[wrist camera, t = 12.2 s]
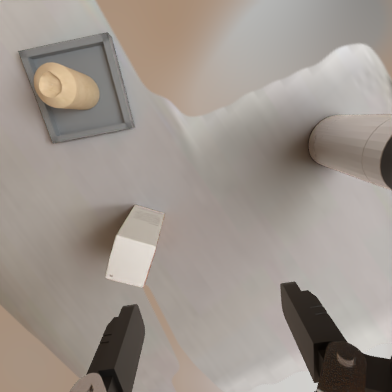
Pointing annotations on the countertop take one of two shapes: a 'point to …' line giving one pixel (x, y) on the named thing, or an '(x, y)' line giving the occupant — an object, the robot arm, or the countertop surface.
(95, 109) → the rest tray
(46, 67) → the candle
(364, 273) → the countertop surface
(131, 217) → the small box
